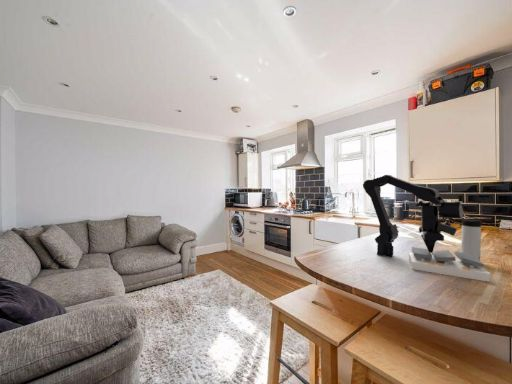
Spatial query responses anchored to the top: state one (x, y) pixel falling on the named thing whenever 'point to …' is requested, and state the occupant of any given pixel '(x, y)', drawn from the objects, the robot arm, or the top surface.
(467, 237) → the travel mug
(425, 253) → the rocker
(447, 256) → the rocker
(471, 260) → the plate
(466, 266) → the switch unit
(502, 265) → the top surface
